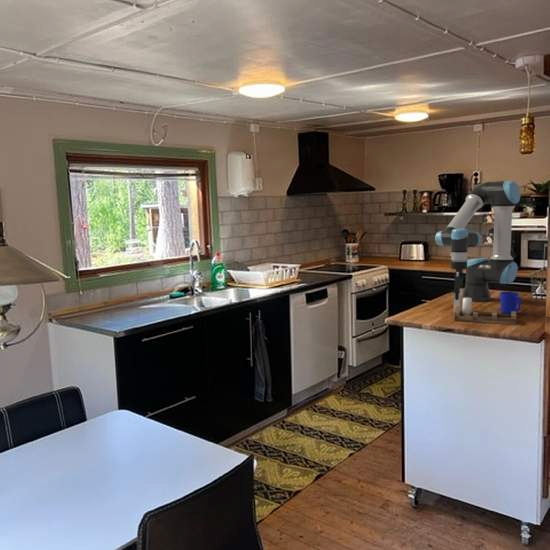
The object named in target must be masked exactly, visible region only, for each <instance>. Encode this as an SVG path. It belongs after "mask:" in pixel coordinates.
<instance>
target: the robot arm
mask: <svg viewBox="0 0 550 550" xmlns="http://www.w3.org/2000/svg"><path fill="white" fill-rule="evenodd" d="M521 194H522V193H521V189H520V186H519V184H518V183H517V182H516V181H514V180H497V181H486V182H483V183H481V184H479V185H477V186H476V187H475V188H473V189H472V190H471V191H470V192H469V193H468V194H467V196H466V197H465V201H464V203H463V205H462V206H461V207H460V209H459V210H458V211H457V213H456V214H455V215H454V217H453V218H452V220H451V221H450V222H449V224H448V225H447V226H446V227H445V229H444V230H441V231H438V232H436V234H435V237H434V240H435V243H436V245H437V246H442V247H451V251H450V254H449V256H450V259H451V261H450V269H452V270H455V272H454V273H453V276H454V279H453V280H454V282H453V283H454V284H453V286H454V287H453V290H452V294H453V307H454V306H458V307H460V295H462V296H463V298H472V302H489V301H491V300H492V295H491V292H490V289H489V283H496V284H502V285H504V284H505V285H506V284H507V285H510V284H511V283H513V282H514V281H515V279H516V278H517V275H518V270H519V268H518V264H517V263H516V262H515V261H514V257H513V256H511V250H512V247H511V246H512V221H513V220H512V219H513V218H512V217H513V210H514V209H515V207H516V204H518V203H519V202H520V199H521ZM486 204H487V205H488V204H490V205H491V208H492V209H493V211H494V214H493V215H494V218H493V246H492V247H493V249H492V256H490V258H489V257H477V258H470V259H468V254H469V253H468V248H475V247H479V246H480V245H481V243H482V242H483V241H482V240H483V237H482V235H481V233H479V232H477V231H469V230H468V229H467V228H466V227H467V226H468V224H469V223H470V221H471V219H472V218H473V217H474V215H475V214H476V212H477V211H478V210H480V209H481V208H482V207H483V206H485V205H486ZM464 270H465V286H464V283H463V282H464V281H463V279H464V272H463V271H464Z"/></svg>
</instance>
